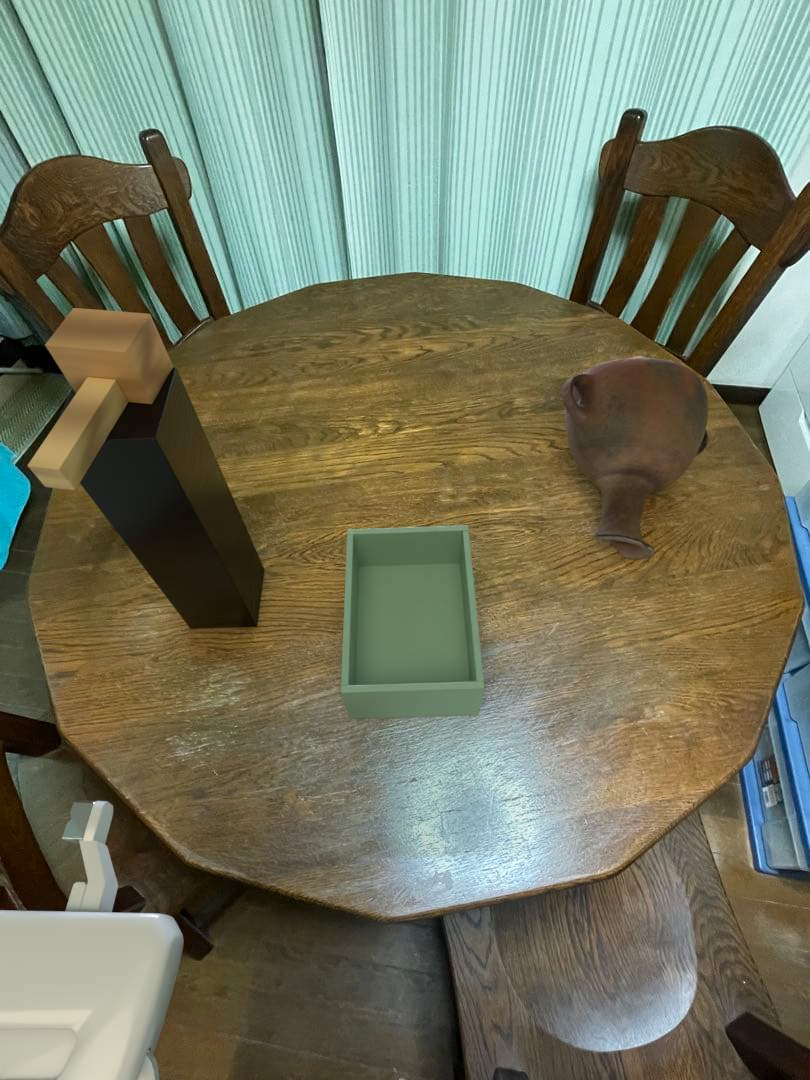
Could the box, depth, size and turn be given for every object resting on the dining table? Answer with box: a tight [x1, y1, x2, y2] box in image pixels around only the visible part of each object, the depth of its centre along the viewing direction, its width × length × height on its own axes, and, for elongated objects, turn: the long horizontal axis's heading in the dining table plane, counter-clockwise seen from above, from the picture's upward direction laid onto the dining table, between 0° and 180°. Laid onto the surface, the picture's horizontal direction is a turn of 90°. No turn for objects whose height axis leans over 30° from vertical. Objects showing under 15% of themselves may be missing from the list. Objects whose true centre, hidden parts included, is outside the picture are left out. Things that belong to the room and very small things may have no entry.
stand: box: [57, 366, 265, 630], centre depth 67 cm, size 9×9×36 cm
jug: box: [561, 355, 709, 561], centre depth 83 cm, size 20×20×30 cm
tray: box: [340, 524, 486, 720], centre depth 74 cm, size 22×16×10 cm
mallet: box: [27, 307, 174, 491], centre depth 48 cm, size 15×7×6 cm, turn 171°
